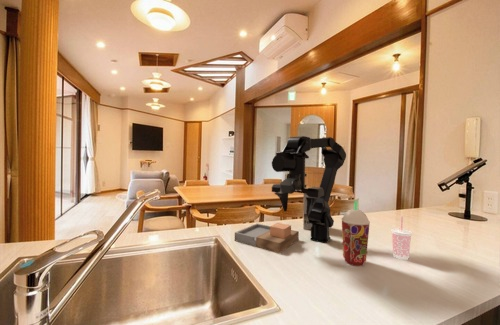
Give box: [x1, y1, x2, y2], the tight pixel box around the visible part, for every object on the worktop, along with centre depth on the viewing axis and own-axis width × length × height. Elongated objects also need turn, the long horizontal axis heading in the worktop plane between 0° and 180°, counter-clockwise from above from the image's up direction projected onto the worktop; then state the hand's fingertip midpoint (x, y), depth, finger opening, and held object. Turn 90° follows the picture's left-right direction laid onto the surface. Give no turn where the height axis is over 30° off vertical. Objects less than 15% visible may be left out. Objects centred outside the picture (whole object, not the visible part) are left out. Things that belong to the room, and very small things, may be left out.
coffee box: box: [302, 193, 312, 230], centre depth 116 cm, size 9×6×16 cm
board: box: [255, 229, 300, 254], centre depth 95 cm, size 10×16×4 cm, turn 145°
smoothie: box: [341, 200, 371, 267], centre depth 78 cm, size 8×8×20 cm
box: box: [234, 223, 271, 247], centre depth 101 cm, size 10×16×3 cm, turn 145°
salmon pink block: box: [269, 222, 292, 238], centre depth 94 cm, size 6×6×4 cm
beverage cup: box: [390, 215, 413, 260], centre depth 83 cm, size 6×6×14 cm
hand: (296, 213), depth 89 cm, fingers open, 9 cm apart
